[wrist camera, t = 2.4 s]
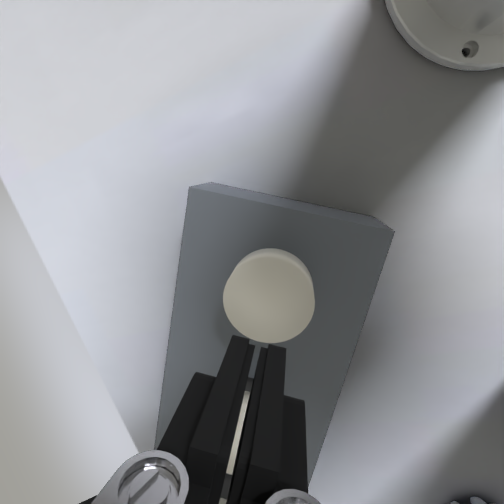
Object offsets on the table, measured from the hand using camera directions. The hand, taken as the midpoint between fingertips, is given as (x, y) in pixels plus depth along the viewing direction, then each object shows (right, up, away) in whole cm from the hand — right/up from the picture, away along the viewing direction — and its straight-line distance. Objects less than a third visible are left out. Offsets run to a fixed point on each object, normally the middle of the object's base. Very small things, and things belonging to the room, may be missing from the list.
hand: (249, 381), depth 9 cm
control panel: (0, -4, +17) cm, 17 cm away
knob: (+2, +3, +11) cm, 12 cm away
